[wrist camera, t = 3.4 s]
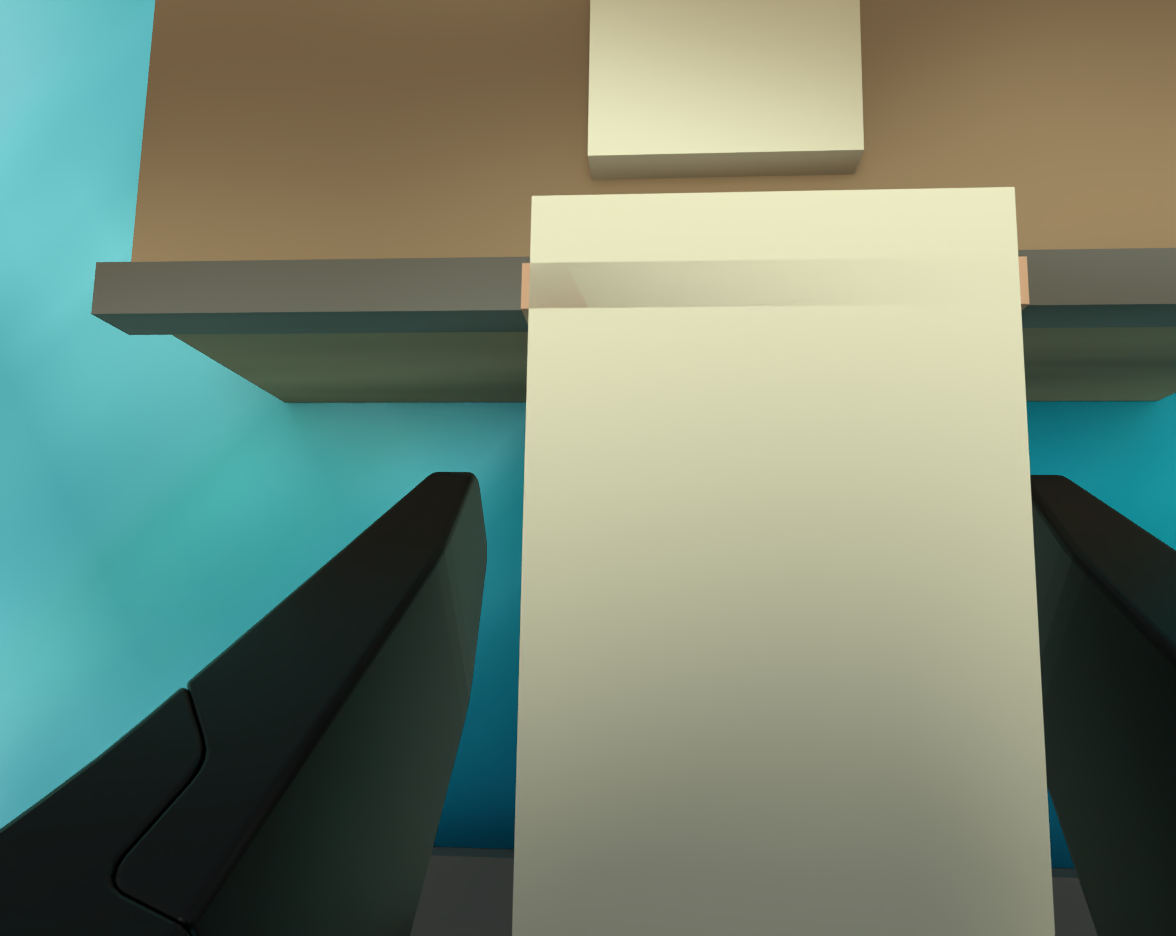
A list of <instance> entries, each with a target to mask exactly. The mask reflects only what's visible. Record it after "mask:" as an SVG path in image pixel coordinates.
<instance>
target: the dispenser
mask: <svg viewBox="0 0 1176 936" xmlns="http://www.w3.org/2000/svg"><path fill="white" fill-rule="evenodd" d="M984 187H1015V204H1016V222H1017V241H1018V257H1023V256H1027V269H1028V287H1029V305H1028V306H1026V307H1025V308H1024V309H1023V310H1022V311H1021V315H1022V333H1023V352H1024V370H1025V389H1026V401H1159V400H1161V399H1163V398H1165V397H1167V396H1169V395H1171V394H1173V393H1176V0H155V11H154V21H153V32H152V43H151V54H150V65H149V75H148V86H147V97H146V108H145V119H144V129H143V140H142V151H141V162H140V173H139V183H138V194H137V205H136V216H135V227H134V237H133V248H132V259H131V262H96V272H95V282H94V292H93V302H92V312H91V314H92V315H94V316H96V317H98V318H100V319H101V320H103V321H105V322H107V323H109V324H110V325H112V326H114V327H116V328H118V329H120V330H121V331H123V332H125V333H127V334H129V335H170V334H171V335H173V336H175V337H176V338H178V339H180V340H181V341H183V342H185V343H186V344H188V345H190V346H191V347H193V348H195V349H196V350H198V351H200V352H201V353H203V354H205V355H206V356H208V357H210V358H211V359H213V360H215V361H216V362H218V363H220V364H221V365H223V366H225V367H227V368H228V369H230V370H232V371H233V372H235V373H237V374H238V375H240V376H242V377H243V378H245V379H247V380H248V381H250V382H252V383H253V384H255V385H257V386H258V387H260V388H262V389H263V390H265V391H267V392H268V393H270V394H272V395H273V396H275V397H277V398H278V399H280V400H282V401H283V402H526V392H527V355H528V323H527V321H526V319H525V317H524V314H523V312H522V310H521V285H522V263H530V242H531V205H532V196H552V195H606V194H660V193H714V192H768V191H822V190H876V189H930V188H984Z"/></svg>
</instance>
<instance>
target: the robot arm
mask: <svg viewBox="0 0 1176 936" xmlns="http://www.w3.org/2000/svg"><path fill="white" fill-rule="evenodd" d="M1030 481H1031V500H1032V518H1033V537H1034V555H1035V574H1036V592H1037V611H1038V629H1039V648H1040V666H1041V685H1042V703H1043V722H1044V740H1045V759H1046V777H1047V786H1048V789H1049V792H1050V795H1051V798H1052V801H1053V804H1054V807H1055V810H1056V813H1057V816H1058V819H1059V822H1060V825H1061V828H1062V831H1063V834H1064V837H1065V840H1066V843H1067V846H1068V849H1069V852H1070V855H1071V858H1072V861H1073V864H1074V867H1075V870H1076V873H1077V876H1078V879H1079V882H1080V884H1081V887H1082V890H1083V893H1084V896H1085V899H1086V902H1087V905H1088V908H1089V911H1090V914H1091V917H1092V920H1093V923H1094V926H1095V929H1096V932H1097V935H1098V936H1176V550H1174V549H1173V548H1171V547H1170V546H1168V545H1167V544H1165V543H1164V542H1162V541H1161V540H1159V539H1158V538H1156V537H1155V536H1153V535H1152V534H1150V533H1149V532H1147V531H1146V530H1144V529H1143V528H1141V527H1140V526H1138V525H1137V524H1135V523H1134V522H1132V521H1131V520H1129V519H1128V518H1126V517H1125V516H1123V515H1122V514H1120V513H1119V512H1117V511H1116V510H1114V509H1113V508H1111V507H1110V506H1108V505H1107V504H1105V503H1104V502H1102V501H1101V500H1099V499H1098V498H1096V497H1095V496H1093V495H1092V494H1090V493H1089V492H1087V491H1086V490H1084V489H1083V488H1081V487H1080V486H1078V485H1077V484H1075V483H1074V482H1072V481H1071V480H1069V479H1067V478H1066V477H1064V476H1060V475H1030ZM486 563H487V541H486V532H485V525H484V517H483V510H482V502H481V495H480V487H479V483H478V479H477V478H476V476H475V475H474V474H472V473H470V472H435V473H432V474H431V475H429V476H428V477H427V478H425V479H424V480H423V481H422V482H421V483H420V484H418V485H417V486H416V487H415V488H414V489H413V490H411V491H410V492H409V493H408V494H407V495H406V496H404V497H403V498H402V499H401V500H400V501H399V502H397V503H396V504H395V505H394V506H393V507H392V508H390V509H389V510H388V511H387V512H386V513H385V514H383V515H382V516H381V517H380V518H379V519H378V520H376V521H375V522H374V523H373V524H372V525H371V526H369V527H368V528H367V529H366V530H365V531H364V532H362V533H361V534H360V535H359V536H358V537H357V538H355V539H354V540H353V541H352V542H351V543H350V544H348V545H347V546H346V547H345V548H344V549H343V550H341V551H340V552H339V553H338V554H337V555H336V556H334V557H333V558H332V559H331V560H330V561H329V562H327V563H326V564H325V565H324V566H323V567H322V568H320V569H319V570H318V571H317V572H316V573H315V574H313V575H312V576H311V577H310V578H309V579H308V580H306V581H305V582H304V583H303V584H302V585H301V586H299V587H298V588H297V589H296V590H295V591H294V592H292V593H291V594H290V595H289V596H288V597H287V598H285V599H284V600H283V601H282V602H281V603H280V604H278V605H277V606H276V607H275V608H274V609H273V610H271V611H270V612H269V613H268V614H267V615H265V616H264V617H263V618H262V619H261V620H260V621H258V622H257V623H256V624H255V625H254V626H253V627H251V628H250V629H249V630H248V631H247V632H246V633H244V634H243V635H242V636H241V637H240V638H239V639H237V640H236V641H235V642H234V643H233V644H232V645H230V646H229V647H228V648H227V649H226V650H225V651H223V652H222V653H221V654H220V655H219V656H218V657H216V658H215V659H214V660H213V661H212V662H211V663H209V664H208V665H207V666H206V667H205V668H204V669H202V670H201V671H200V672H199V673H198V674H197V675H195V676H194V677H193V678H192V679H191V680H190V681H189V682H188V683H187V688H188V690H187V689H186V688H180V689H179V690H177V691H176V692H175V693H174V694H173V695H172V696H170V697H169V698H168V699H167V700H166V701H165V702H163V703H162V704H161V705H160V706H159V707H158V708H156V709H155V710H154V711H153V712H152V713H151V714H149V715H148V716H147V717H146V718H145V719H143V720H142V721H141V722H140V723H139V724H137V725H136V726H135V727H134V728H132V729H131V730H130V731H129V732H128V733H126V734H125V735H124V736H123V737H121V738H120V739H119V740H118V741H116V742H115V743H114V744H113V745H112V746H110V747H109V748H108V749H107V750H105V751H104V752H103V753H102V754H101V755H99V756H98V757H97V758H96V759H94V760H93V761H92V762H90V763H89V764H88V765H86V766H85V767H84V768H82V769H81V770H80V771H78V772H77V773H76V774H74V775H73V776H72V777H70V778H69V779H68V780H66V781H65V782H64V783H62V784H61V785H60V786H58V787H57V788H56V789H54V790H53V791H52V792H50V793H49V794H48V795H46V796H45V797H44V798H42V799H41V800H40V801H38V802H37V803H36V804H34V805H33V806H32V807H30V808H29V809H27V810H26V811H25V812H23V813H22V814H20V815H19V816H18V817H16V818H15V819H14V820H12V821H11V822H9V823H8V824H7V825H5V826H4V827H2V828H1V829H0V936H410V935H411V931H412V927H413V923H414V919H415V915H416V911H417V907H418V903H419V899H420V895H421V892H422V888H423V884H424V880H425V876H426V872H427V868H428V864H429V860H430V856H431V852H432V848H433V844H434V840H435V837H436V833H437V829H438V825H439V821H440V817H441V813H442V809H443V805H444V801H445V797H446V793H447V789H448V785H449V781H450V778H451V774H452V770H453V766H454V762H455V758H456V754H457V750H458V746H459V742H460V738H461V734H462V730H463V726H464V722H465V718H466V713H467V709H468V704H469V699H470V692H471V685H472V679H473V671H474V663H475V654H476V646H477V638H478V630H479V621H480V613H481V605H482V597H483V588H484V580H485V572H486Z"/></svg>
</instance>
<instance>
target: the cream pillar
mask: <svg viewBox="0 0 1176 936" xmlns="http://www.w3.org/2000/svg"><path fill="white" fill-rule="evenodd" d="M1028 305H1029V287H1028V269H1027V256H1023V257H1018V241H1017V222H1016V204H1015V187H984V188H930V189H876V190H822V191H768V192H714V193H660V194H606V195H552V196H532V205H531V242H530V263H522V285H521V310H522V312H523V314H524V317H525V319H526V321H527V323H528V355H527V392H526V430H525V467H524V505H523V542H522V580H521V617H520V655H519V692H518V730H517V767H516V805H515V842H514V880H513V917H512V936H1055V925H1054V907H1053V888H1052V870H1051V851H1050V833H1049V814H1048V796H1047V777H1046V759H1045V740H1044V722H1043V703H1042V685H1041V666H1040V648H1039V629H1038V611H1037V592H1036V574H1035V555H1034V537H1033V518H1032V500H1031V481H1030V463H1029V444H1028V426H1027V407H1026V389H1025V370H1024V352H1023V333H1022V315H1021V311H1022V310H1023V309H1024V308H1025V307H1026V306H1028Z"/></svg>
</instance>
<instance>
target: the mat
mask: <svg viewBox="0 0 1176 936" xmlns="http://www.w3.org/2000/svg"><path fill="white" fill-rule="evenodd" d="M1051 870H1052V888H1053V907H1054V925H1055V936H1098V935H1097V932H1096V929H1095V926H1094V923H1093V920H1092V917H1091V914H1090V911H1089V908H1088V905H1087V902H1086V899H1085V896H1084V893H1083V890H1082V887H1081V884H1080V882H1079V879H1078V876H1077V873H1076V870H1075V869H1072V868H1051ZM513 880H514V849H488V848H458V847H433V848H432V852H431V856H430V860H429V864H428V868H427V872H426V876H425V880H424V884H423V888H422V892H421V895H420V899H419V903H418V907H417V911H416V915H415V919H414V923H413V927H412V931H411V935H410V936H512V917H513Z"/></svg>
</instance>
